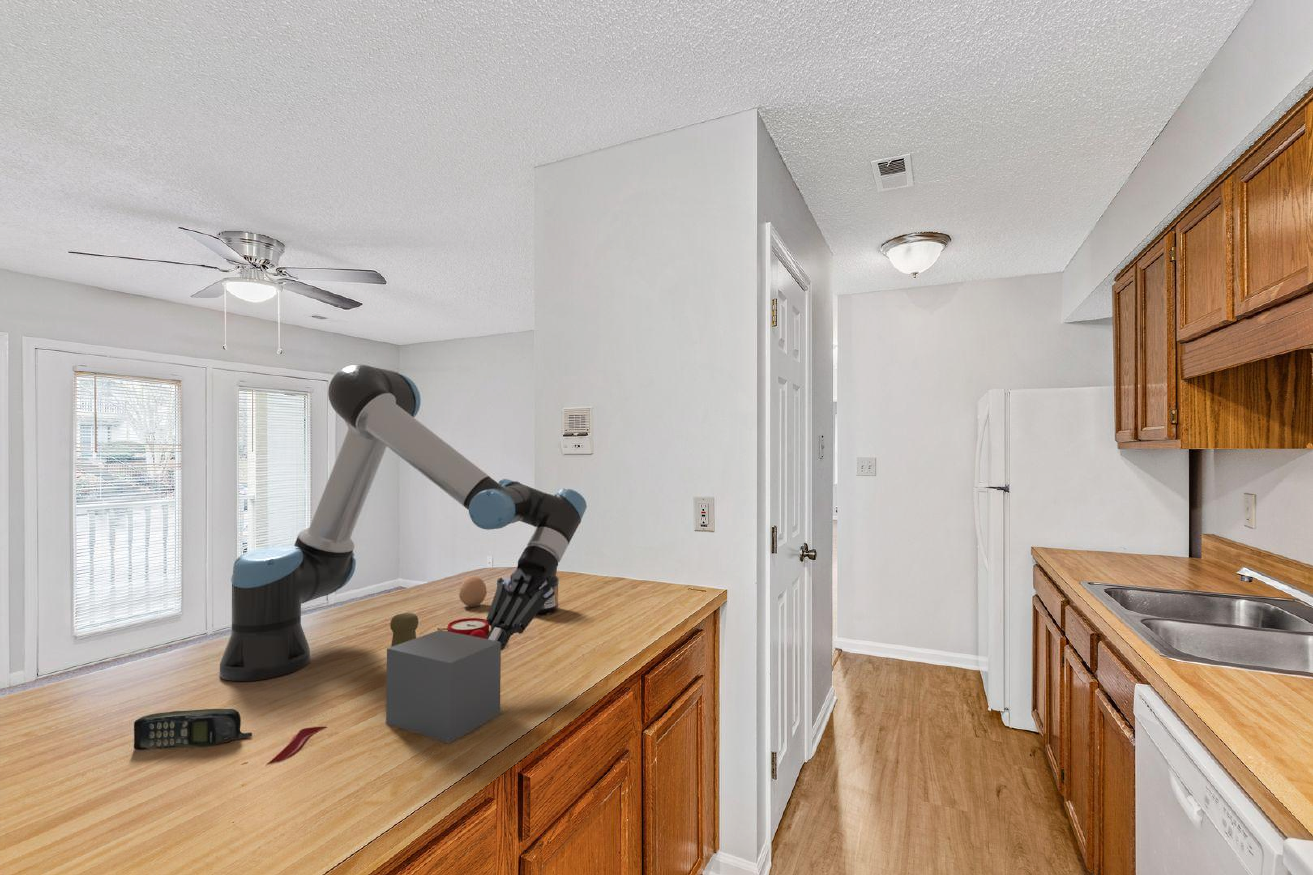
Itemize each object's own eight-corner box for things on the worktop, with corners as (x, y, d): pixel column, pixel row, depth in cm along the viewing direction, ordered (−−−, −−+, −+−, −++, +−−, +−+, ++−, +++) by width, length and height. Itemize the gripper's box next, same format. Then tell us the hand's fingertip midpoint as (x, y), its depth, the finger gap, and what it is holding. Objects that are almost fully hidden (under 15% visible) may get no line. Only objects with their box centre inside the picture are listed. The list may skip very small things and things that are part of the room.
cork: (426, 667, 119) (427, 612, 119) (402, 677, 113) (403, 620, 113) (405, 662, 121) (405, 608, 121) (380, 672, 116) (381, 616, 116)
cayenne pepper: (320, 726, 94) (320, 714, 94) (342, 731, 92) (342, 719, 92) (245, 765, 83) (245, 751, 83) (269, 770, 81) (269, 757, 81)
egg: (478, 610, 160) (478, 579, 160) (453, 608, 161) (454, 577, 162) (491, 603, 167) (491, 573, 167) (467, 602, 169) (467, 572, 169)
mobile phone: (129, 720, 85) (244, 710, 88) (144, 711, 88) (254, 701, 91) (130, 755, 85) (244, 744, 88) (144, 744, 88) (254, 734, 91)
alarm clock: (464, 616, 143) (511, 610, 136) (468, 642, 142) (516, 637, 135) (430, 627, 133) (479, 621, 127) (434, 655, 133) (484, 651, 126)
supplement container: (554, 616, 155) (555, 570, 155) (514, 615, 155) (515, 570, 155) (561, 605, 165) (562, 563, 166) (524, 605, 166) (524, 562, 166)
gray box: (449, 743, 88) (450, 663, 88) (385, 723, 94) (386, 648, 95) (500, 714, 98) (500, 641, 98) (439, 697, 104) (440, 629, 104)
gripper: (576, 569, 119) (522, 681, 103) (525, 563, 124) (466, 668, 109) (561, 546, 114) (501, 660, 99) (508, 541, 120) (445, 648, 105)
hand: (483, 664), depth 104 cm, fingers closed
